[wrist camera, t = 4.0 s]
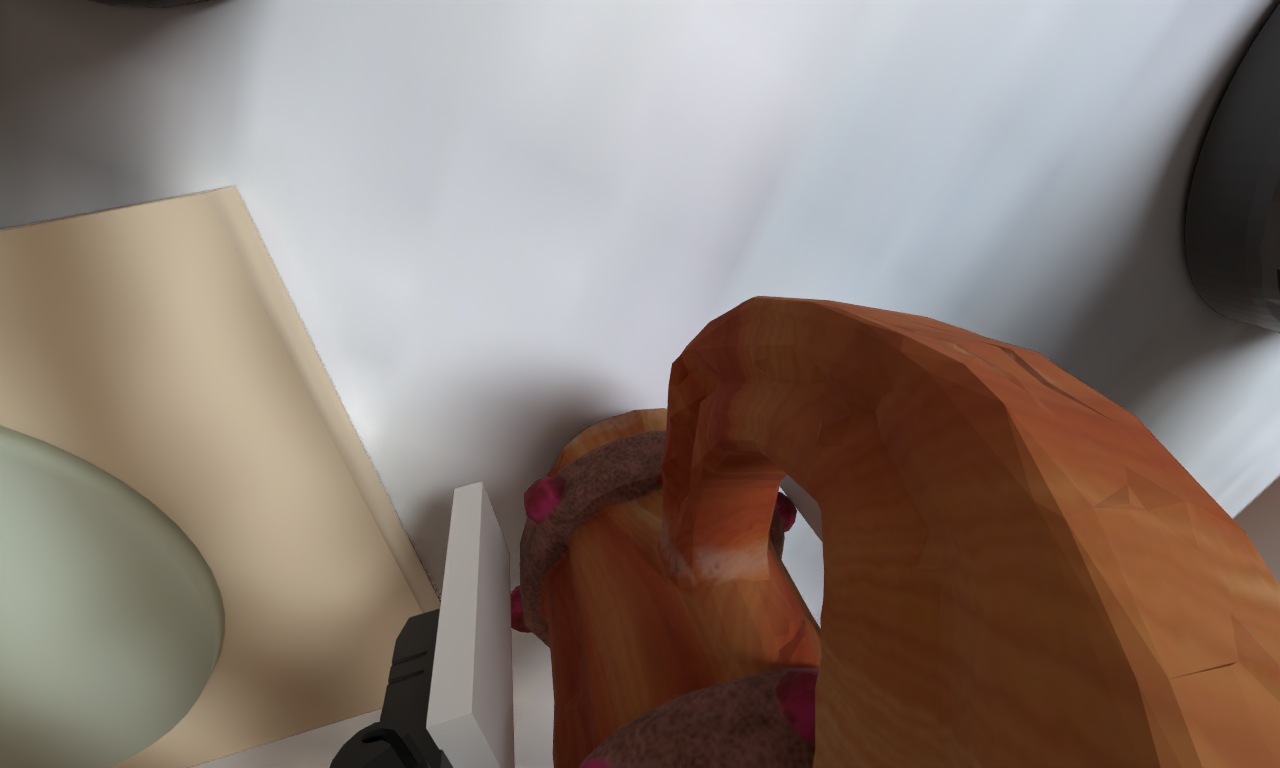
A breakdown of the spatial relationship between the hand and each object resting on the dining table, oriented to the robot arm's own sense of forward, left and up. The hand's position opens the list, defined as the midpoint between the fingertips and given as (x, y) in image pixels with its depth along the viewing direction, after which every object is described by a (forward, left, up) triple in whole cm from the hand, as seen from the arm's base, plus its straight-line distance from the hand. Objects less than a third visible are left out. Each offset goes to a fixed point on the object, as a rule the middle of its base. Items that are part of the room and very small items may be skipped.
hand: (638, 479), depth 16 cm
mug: (-1, 0, -3) cm, 3 cm away
